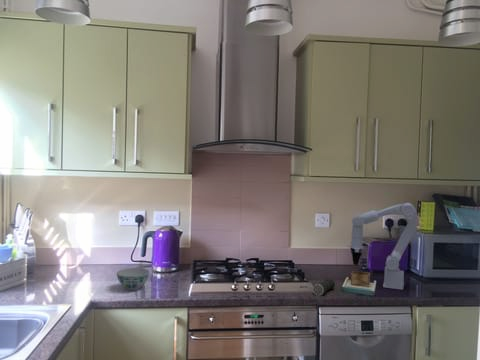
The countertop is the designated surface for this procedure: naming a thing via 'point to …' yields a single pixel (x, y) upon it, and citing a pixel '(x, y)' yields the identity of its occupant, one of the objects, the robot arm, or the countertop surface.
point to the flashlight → (323, 286)
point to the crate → (360, 278)
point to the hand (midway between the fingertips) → (355, 263)
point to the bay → (358, 288)
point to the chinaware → (133, 277)
